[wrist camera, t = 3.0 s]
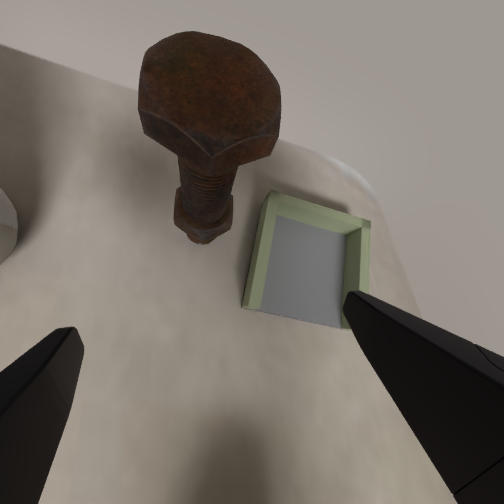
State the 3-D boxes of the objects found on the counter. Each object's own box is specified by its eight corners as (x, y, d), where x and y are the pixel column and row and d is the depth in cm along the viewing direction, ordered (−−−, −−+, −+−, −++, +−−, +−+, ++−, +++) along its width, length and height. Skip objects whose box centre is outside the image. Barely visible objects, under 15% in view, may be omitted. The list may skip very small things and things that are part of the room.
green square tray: (346, 330, 23) (367, 331, 20) (241, 307, 21) (248, 305, 18) (351, 231, 27) (370, 221, 24) (261, 204, 25) (270, 189, 22)
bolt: (160, 234, 21) (94, 71, 7) (191, 195, 23) (188, 5, 9) (213, 267, 22) (249, 174, 8) (240, 226, 23) (310, 90, 9)
